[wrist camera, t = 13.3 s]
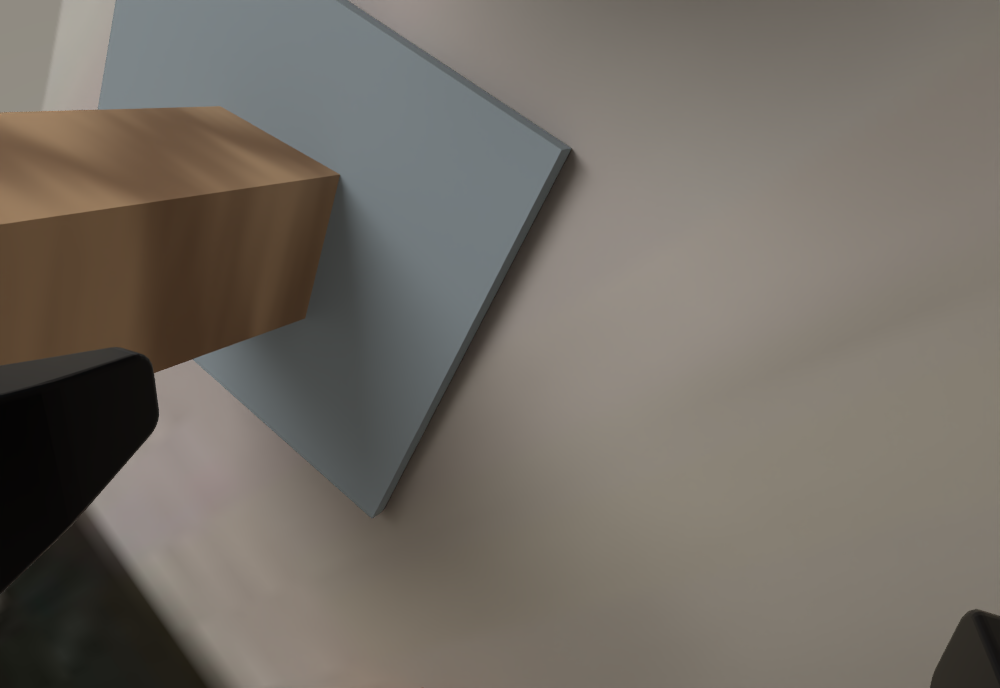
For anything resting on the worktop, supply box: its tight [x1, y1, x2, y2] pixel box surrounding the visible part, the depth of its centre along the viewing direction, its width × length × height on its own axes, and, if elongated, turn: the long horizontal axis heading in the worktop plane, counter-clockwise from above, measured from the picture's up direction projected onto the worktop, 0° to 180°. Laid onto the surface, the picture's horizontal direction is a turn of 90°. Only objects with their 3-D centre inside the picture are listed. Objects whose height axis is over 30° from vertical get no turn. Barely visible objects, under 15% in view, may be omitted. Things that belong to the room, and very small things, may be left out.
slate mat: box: [98, 0, 572, 518], centre depth 25 cm, size 16×14×1 cm
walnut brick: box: [0, 106, 340, 373], centre depth 19 cm, size 5×5×13 cm
